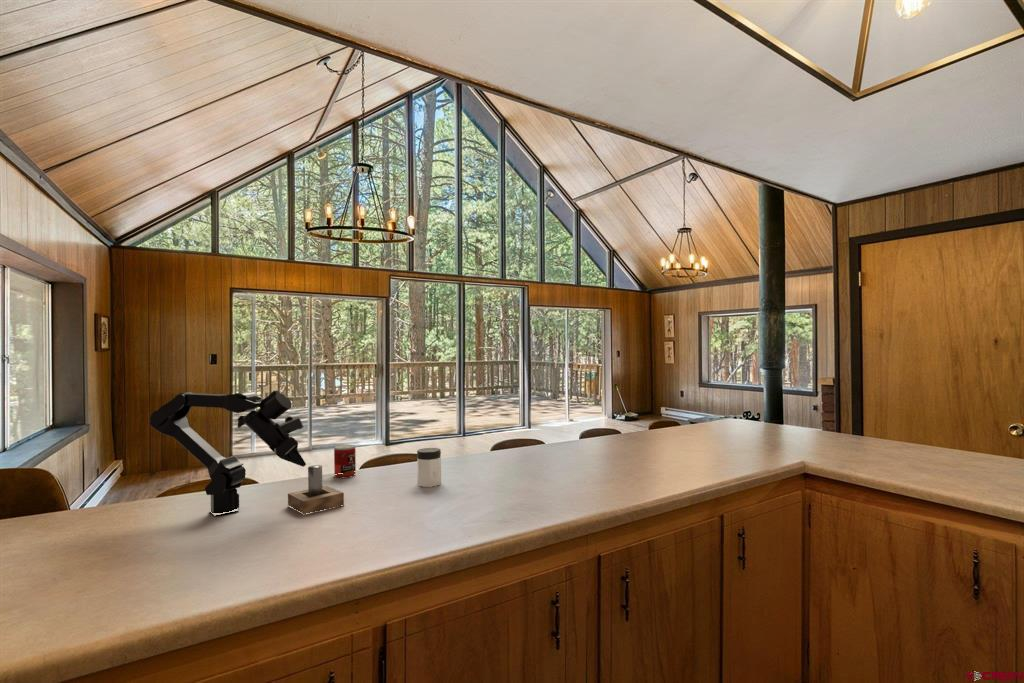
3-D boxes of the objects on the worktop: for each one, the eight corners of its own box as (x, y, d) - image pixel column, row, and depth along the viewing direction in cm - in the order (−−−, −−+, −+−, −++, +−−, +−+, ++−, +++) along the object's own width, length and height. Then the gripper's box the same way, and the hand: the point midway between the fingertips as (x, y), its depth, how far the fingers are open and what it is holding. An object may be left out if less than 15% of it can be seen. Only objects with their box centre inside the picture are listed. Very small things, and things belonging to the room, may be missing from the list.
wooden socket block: (303, 515, 142) (303, 501, 142) (288, 506, 151) (287, 493, 151) (343, 505, 150) (343, 492, 151) (326, 498, 159) (326, 485, 159)
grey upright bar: (311, 509, 148) (311, 468, 148) (306, 506, 151) (305, 466, 151) (325, 506, 151) (324, 466, 151) (319, 503, 153) (318, 464, 154)
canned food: (342, 479, 183) (342, 449, 184) (330, 476, 188) (329, 446, 188) (360, 474, 189) (359, 445, 190) (347, 472, 194) (347, 443, 194)
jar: (425, 489, 168) (424, 453, 168) (412, 484, 173) (411, 450, 174) (446, 483, 174) (446, 449, 174) (433, 479, 180) (432, 446, 180)
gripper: (291, 409, 143) (329, 447, 147) (282, 407, 158) (317, 441, 163) (258, 438, 138) (299, 476, 142) (253, 432, 153) (289, 466, 158)
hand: (302, 463), depth 152 cm, fingers open, 9 cm apart
